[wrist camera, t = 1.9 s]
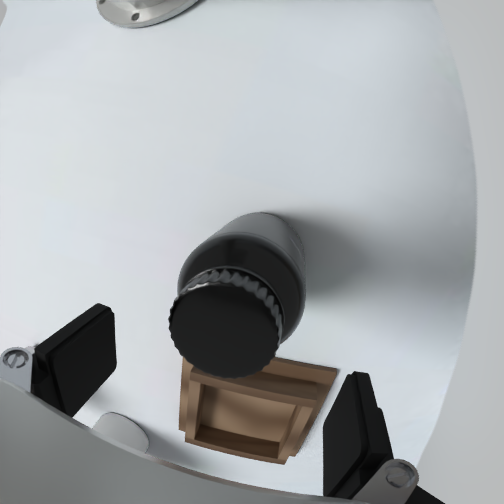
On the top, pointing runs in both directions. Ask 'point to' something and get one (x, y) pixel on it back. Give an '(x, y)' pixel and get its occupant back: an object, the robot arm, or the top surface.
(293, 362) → the walnut stand
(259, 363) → the supplement bottle
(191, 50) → the top surface
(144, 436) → the milk bottle
